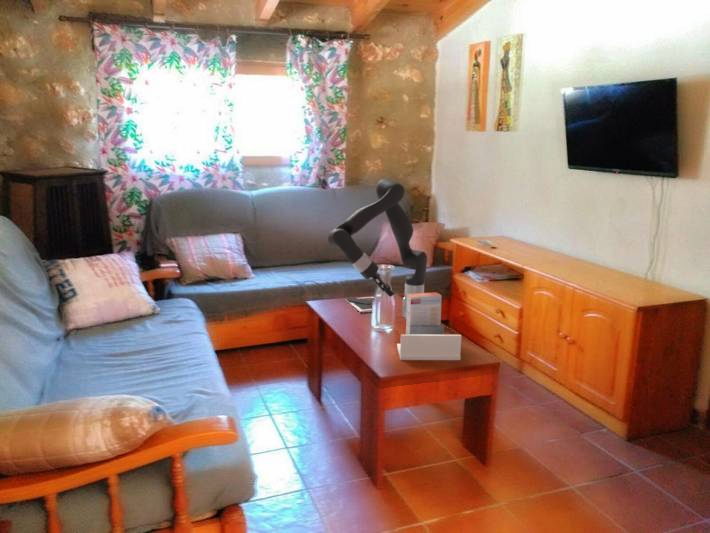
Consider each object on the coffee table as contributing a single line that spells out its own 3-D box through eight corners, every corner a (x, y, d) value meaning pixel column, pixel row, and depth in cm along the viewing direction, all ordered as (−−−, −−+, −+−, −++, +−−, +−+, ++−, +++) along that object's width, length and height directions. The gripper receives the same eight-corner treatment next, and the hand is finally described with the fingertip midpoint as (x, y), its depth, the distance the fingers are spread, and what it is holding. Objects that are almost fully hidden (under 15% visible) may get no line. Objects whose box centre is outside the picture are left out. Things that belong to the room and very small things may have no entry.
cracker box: (435, 336, 259) (437, 291, 254) (440, 341, 253) (442, 295, 248) (404, 338, 256) (406, 293, 251) (409, 343, 250) (411, 297, 245)
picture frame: (345, 303, 307) (360, 315, 289) (345, 297, 307) (360, 309, 288) (372, 300, 313) (388, 311, 294) (372, 295, 312) (389, 306, 294)
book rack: (397, 346, 246) (397, 324, 244) (453, 347, 247) (454, 324, 245) (400, 360, 233) (401, 336, 230) (460, 360, 233) (461, 336, 231)
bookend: (409, 344, 245) (409, 325, 243) (442, 344, 246) (443, 325, 244) (409, 345, 244) (410, 326, 242) (442, 345, 244) (444, 326, 242)
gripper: (373, 263, 237) (399, 291, 241) (370, 256, 251) (395, 282, 255) (360, 275, 238) (386, 303, 242) (357, 267, 252) (382, 293, 256)
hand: (390, 292), depth 248 cm, fingers open, 8 cm apart
